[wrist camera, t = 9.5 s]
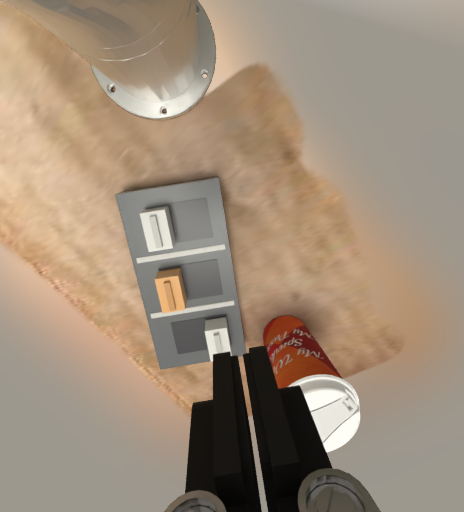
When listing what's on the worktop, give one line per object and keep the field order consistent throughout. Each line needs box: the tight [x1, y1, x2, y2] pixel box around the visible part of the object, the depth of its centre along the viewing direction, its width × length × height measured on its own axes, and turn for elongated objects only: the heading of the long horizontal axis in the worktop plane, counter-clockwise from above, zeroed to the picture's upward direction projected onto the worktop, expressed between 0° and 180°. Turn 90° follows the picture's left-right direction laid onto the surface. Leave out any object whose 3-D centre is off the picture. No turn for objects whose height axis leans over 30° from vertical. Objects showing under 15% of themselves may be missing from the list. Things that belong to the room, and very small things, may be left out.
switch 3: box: [205, 317, 232, 361], centre depth 37 cm, size 4×2×3 cm, turn 8°
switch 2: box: [155, 268, 187, 313], centre depth 35 cm, size 4×2×3 cm, turn 9°
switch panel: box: [115, 177, 246, 370], centre depth 38 cm, size 22×11×3 cm, turn 8°
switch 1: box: [140, 206, 176, 252], centre depth 33 cm, size 4×2×3 cm, turn 8°
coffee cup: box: [263, 316, 360, 452], centre depth 36 cm, size 8×8×15 cm
